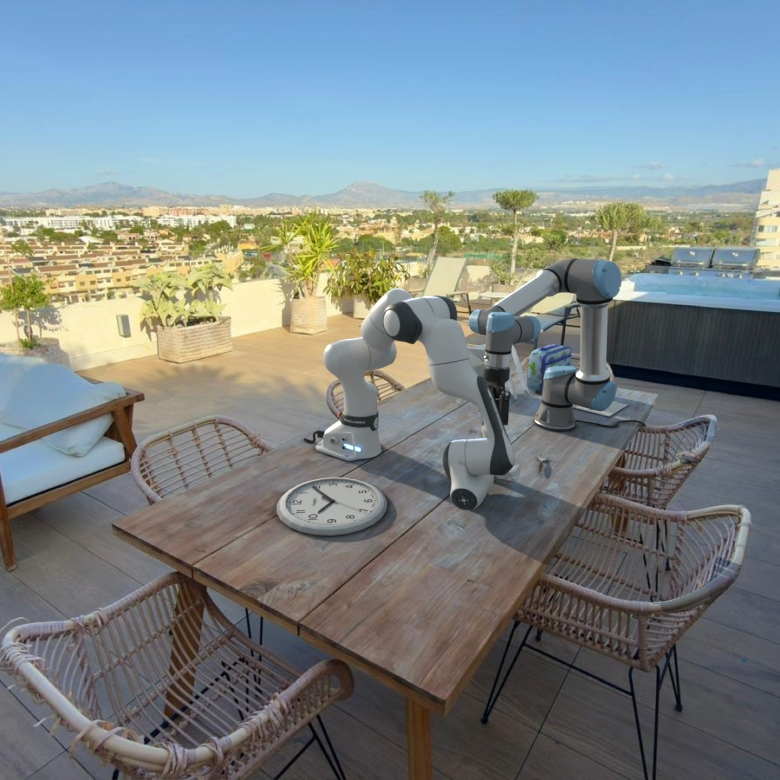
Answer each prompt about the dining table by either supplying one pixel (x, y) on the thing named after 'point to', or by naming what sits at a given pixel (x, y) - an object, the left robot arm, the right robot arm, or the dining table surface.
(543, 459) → the fork
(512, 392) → the white plastic object
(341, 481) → the wall clock
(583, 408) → the invitation card
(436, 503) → the dining table surface
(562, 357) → the lunch box
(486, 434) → the lid
